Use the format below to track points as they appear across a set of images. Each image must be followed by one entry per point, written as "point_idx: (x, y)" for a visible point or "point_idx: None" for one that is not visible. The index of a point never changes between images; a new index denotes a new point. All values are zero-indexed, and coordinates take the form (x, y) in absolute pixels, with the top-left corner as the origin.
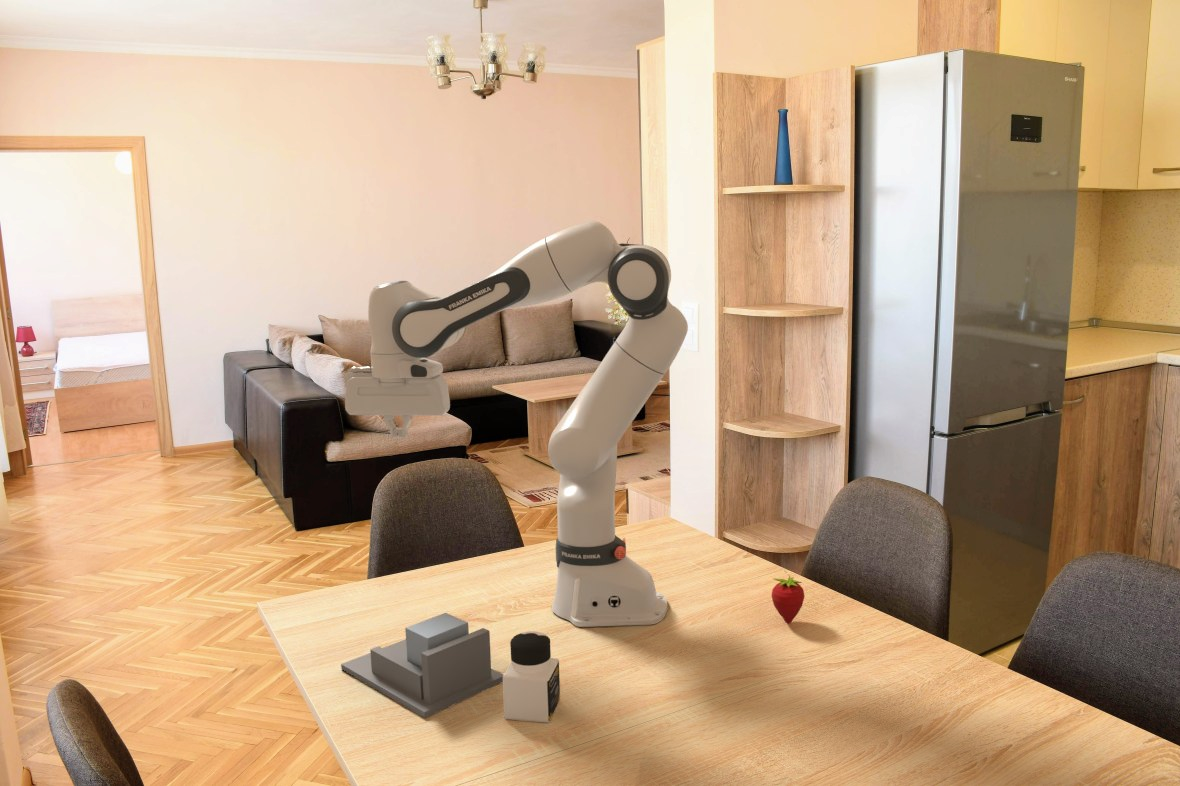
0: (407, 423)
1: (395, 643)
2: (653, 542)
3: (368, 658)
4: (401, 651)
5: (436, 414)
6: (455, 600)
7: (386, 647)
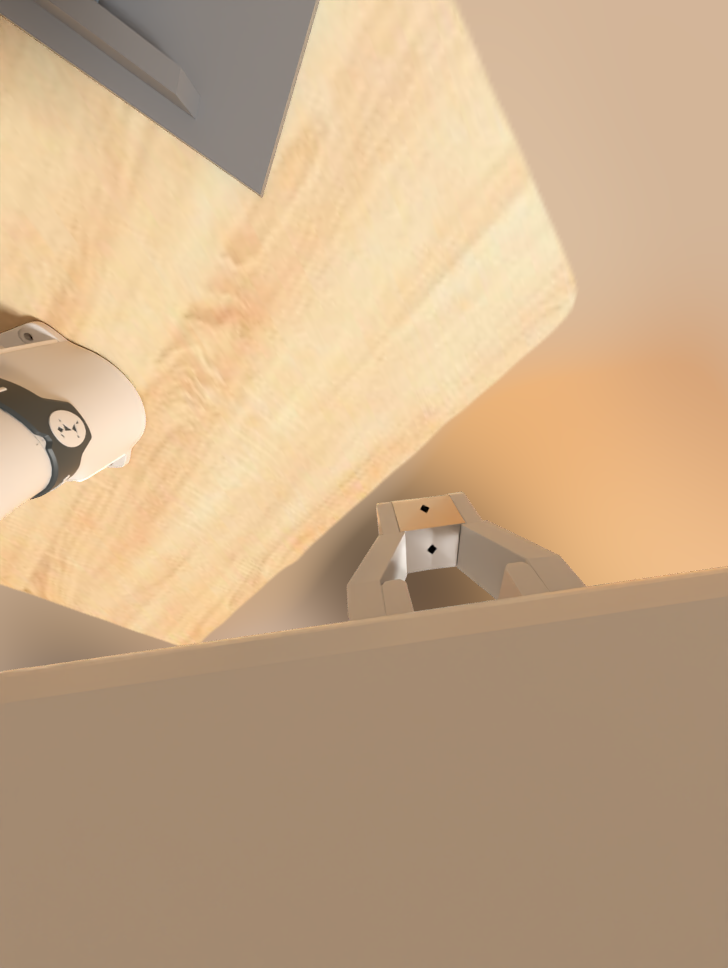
0: (358, 567)
1: (277, 126)
2: (160, 601)
3: (289, 9)
4: (243, 79)
5: (14, 674)
6: (294, 382)
7: (284, 96)
